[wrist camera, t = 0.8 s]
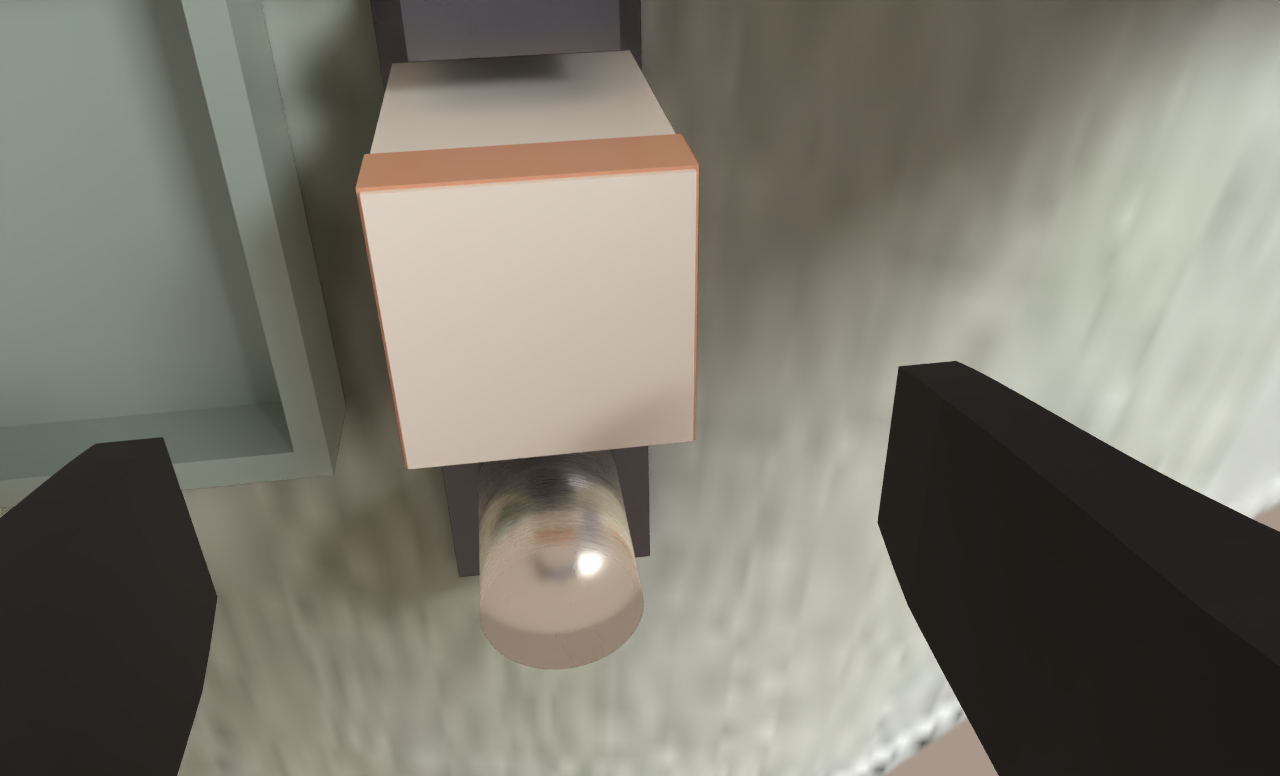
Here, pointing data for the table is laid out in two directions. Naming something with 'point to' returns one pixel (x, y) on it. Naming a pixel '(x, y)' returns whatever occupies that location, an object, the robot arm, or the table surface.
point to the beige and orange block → (532, 258)
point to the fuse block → (555, 484)
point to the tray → (155, 247)
